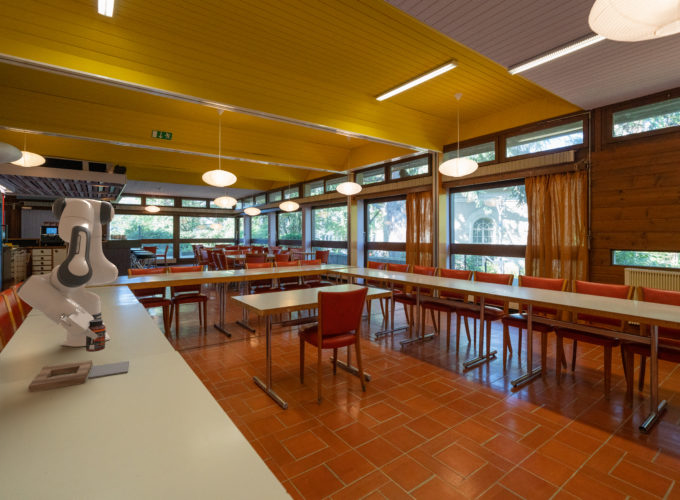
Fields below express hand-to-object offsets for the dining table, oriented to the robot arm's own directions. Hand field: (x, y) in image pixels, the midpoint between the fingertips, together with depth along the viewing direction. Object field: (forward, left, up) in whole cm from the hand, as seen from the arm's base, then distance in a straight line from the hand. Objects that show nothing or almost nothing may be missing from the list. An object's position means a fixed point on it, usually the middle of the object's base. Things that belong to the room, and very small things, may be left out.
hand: (97, 335), depth 125 cm
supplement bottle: (0, -1, -6) cm, 6 cm away
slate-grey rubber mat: (0, +4, -14) cm, 15 cm away
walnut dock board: (0, -10, -14) cm, 17 cm away
